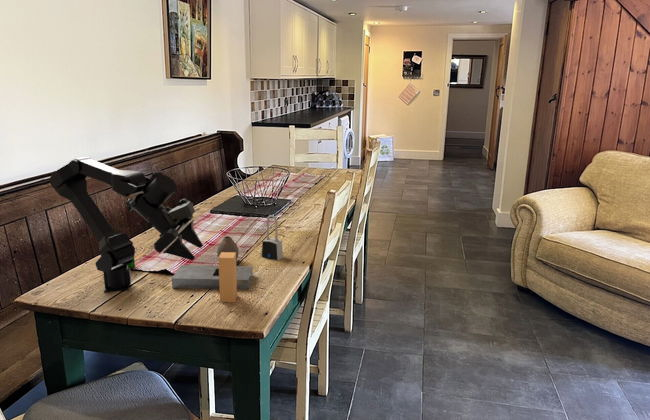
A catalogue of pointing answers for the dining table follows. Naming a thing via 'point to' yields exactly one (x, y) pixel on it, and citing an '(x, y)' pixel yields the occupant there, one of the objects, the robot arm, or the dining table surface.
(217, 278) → the rail
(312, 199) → the dining table surface
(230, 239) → the vase
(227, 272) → the peg
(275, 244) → the padlock
